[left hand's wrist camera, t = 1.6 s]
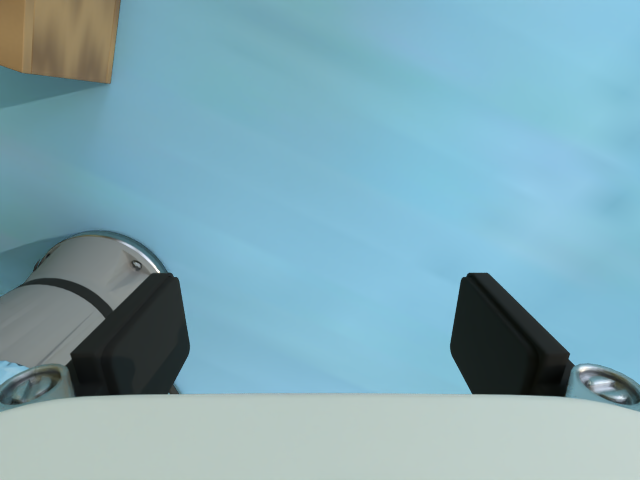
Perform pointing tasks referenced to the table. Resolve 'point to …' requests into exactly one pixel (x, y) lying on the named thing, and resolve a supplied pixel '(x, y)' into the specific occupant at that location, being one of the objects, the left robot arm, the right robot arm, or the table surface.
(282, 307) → the table surface
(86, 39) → the cabinet
